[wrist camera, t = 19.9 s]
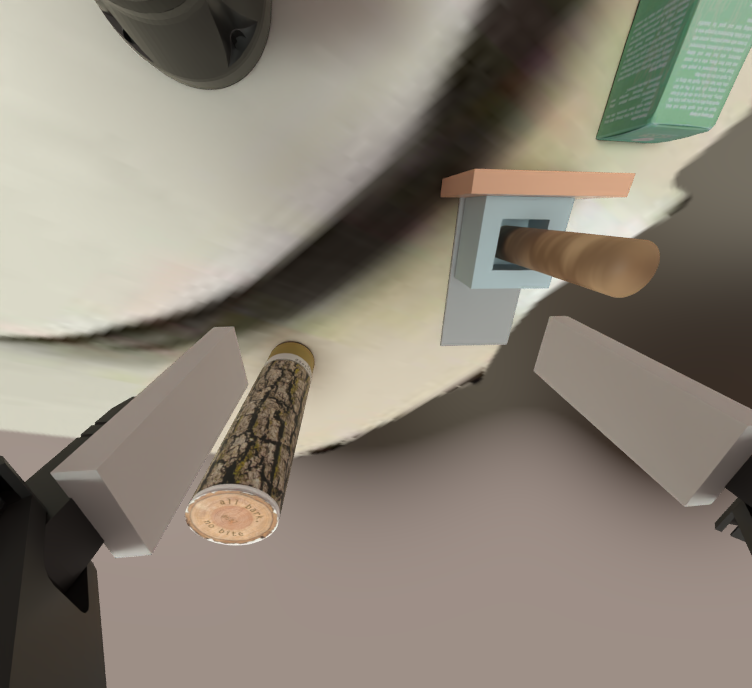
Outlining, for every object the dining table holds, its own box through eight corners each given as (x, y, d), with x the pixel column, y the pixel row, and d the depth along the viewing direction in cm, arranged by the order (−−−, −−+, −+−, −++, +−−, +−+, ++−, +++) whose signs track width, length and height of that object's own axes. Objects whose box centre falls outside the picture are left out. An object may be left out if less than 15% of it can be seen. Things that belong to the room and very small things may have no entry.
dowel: (491, 225, 34) (615, 239, 18) (521, 225, 35) (670, 239, 19) (485, 258, 36) (593, 298, 20) (514, 258, 37) (644, 297, 20)
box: (592, 143, 34) (652, 127, 27) (641, -18, 28) (733, -89, 21) (645, 147, 35) (717, 132, 28) (705, -10, 29) (813, -76, 22)
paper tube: (294, 331, 42) (228, 476, 19) (323, 362, 44) (297, 520, 22) (261, 356, 43) (164, 518, 21) (292, 384, 46) (236, 555, 23)
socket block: (465, 197, 35) (486, 195, 29) (541, 199, 35) (575, 197, 30) (454, 277, 39) (471, 288, 34) (521, 277, 40) (548, 288, 35)
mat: (461, 179, 34) (463, 179, 34) (545, 181, 35) (547, 181, 35) (440, 344, 45) (441, 345, 44) (505, 343, 45) (506, 344, 45)
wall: (442, 178, 34) (474, 168, 25) (563, 182, 36) (635, 173, 27) (440, 197, 35) (471, 193, 26) (559, 199, 36) (626, 197, 28)
